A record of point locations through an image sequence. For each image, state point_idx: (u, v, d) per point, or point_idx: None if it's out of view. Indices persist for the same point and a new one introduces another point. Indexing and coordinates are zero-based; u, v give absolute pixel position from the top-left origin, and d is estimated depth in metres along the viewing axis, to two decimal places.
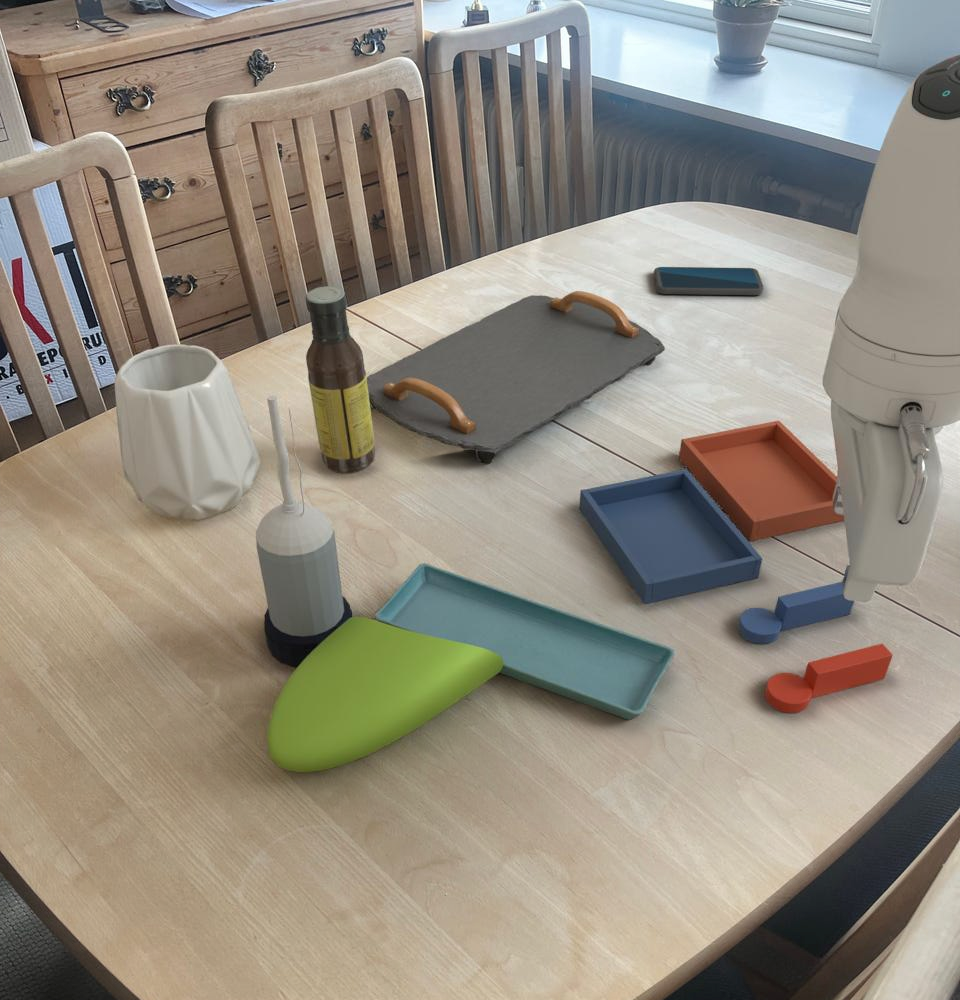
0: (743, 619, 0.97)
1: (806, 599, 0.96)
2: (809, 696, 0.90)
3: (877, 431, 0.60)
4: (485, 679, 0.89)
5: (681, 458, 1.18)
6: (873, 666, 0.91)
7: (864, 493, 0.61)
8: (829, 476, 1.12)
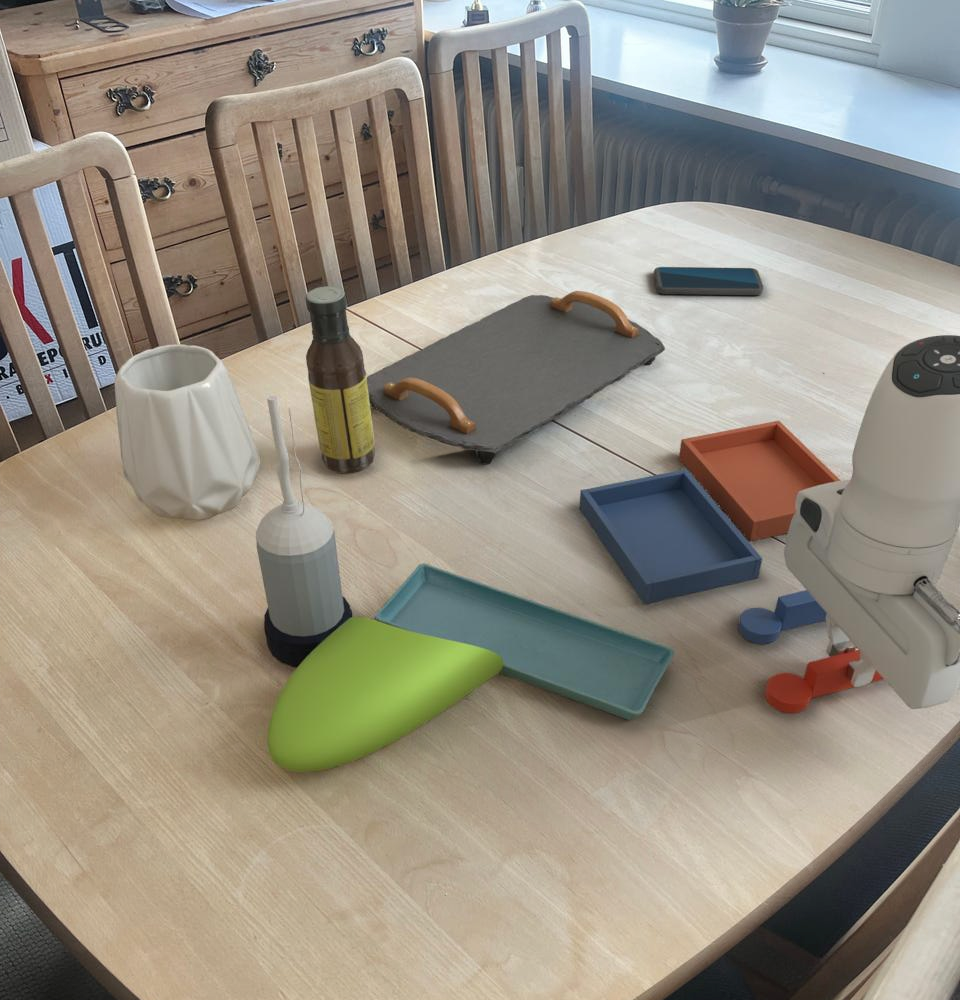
0: (743, 619, 0.97)
1: (806, 599, 0.96)
2: (809, 696, 0.90)
3: (900, 601, 0.80)
4: (485, 679, 0.89)
5: (681, 458, 1.18)
6: None
7: (898, 645, 0.81)
8: (829, 476, 1.12)
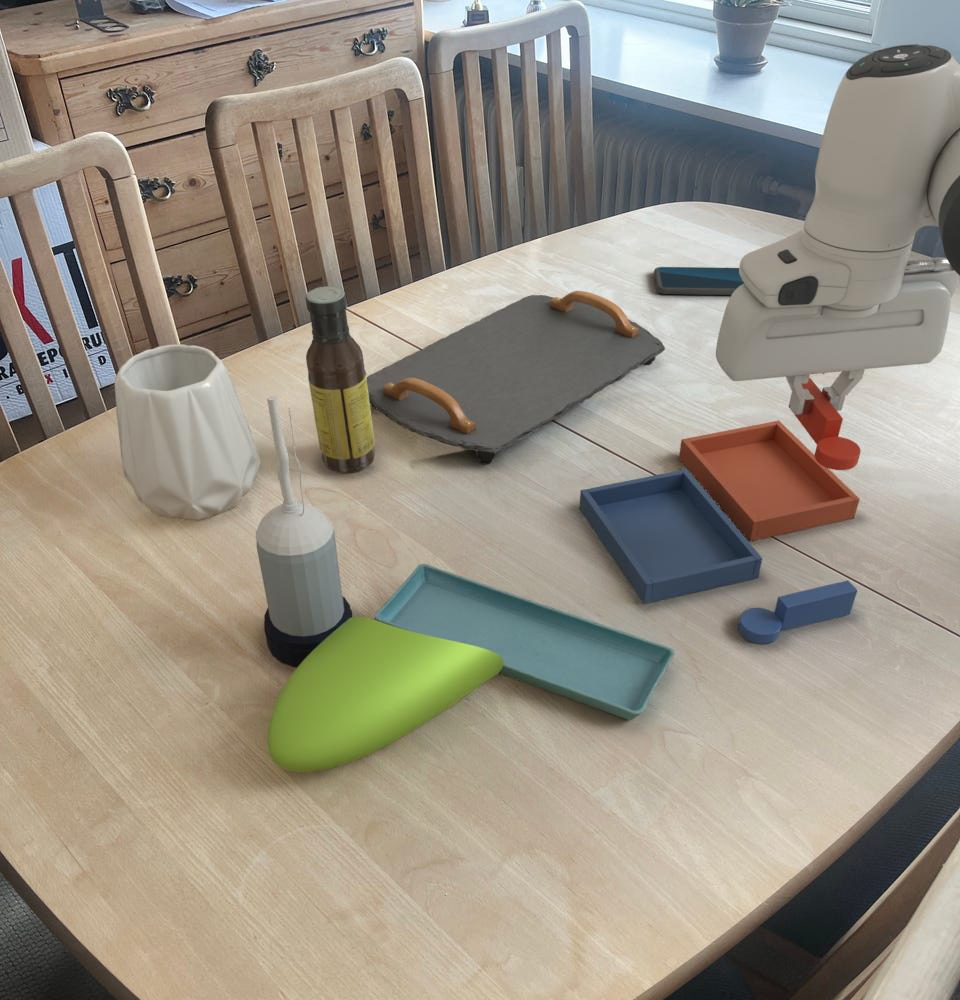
0: (743, 619, 0.97)
1: (806, 599, 0.96)
2: None
3: (903, 289, 0.89)
4: (485, 679, 0.89)
5: (681, 458, 1.18)
6: None
7: (908, 325, 0.91)
8: (829, 476, 1.12)
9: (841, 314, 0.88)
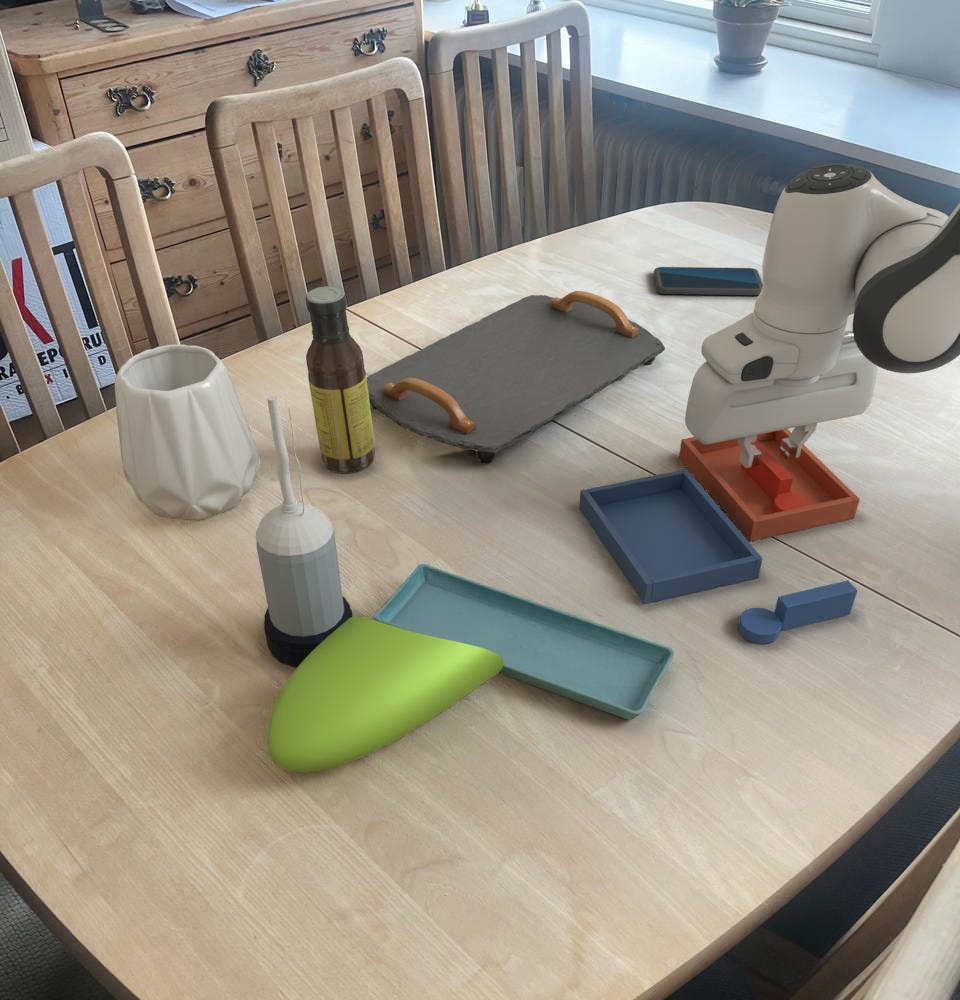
0: (743, 619, 0.97)
1: (806, 599, 0.96)
2: (799, 494, 1.11)
3: (839, 357, 1.04)
4: (485, 679, 0.89)
5: (681, 458, 1.18)
6: None
7: (844, 386, 1.07)
8: (829, 476, 1.12)
9: (791, 383, 1.03)
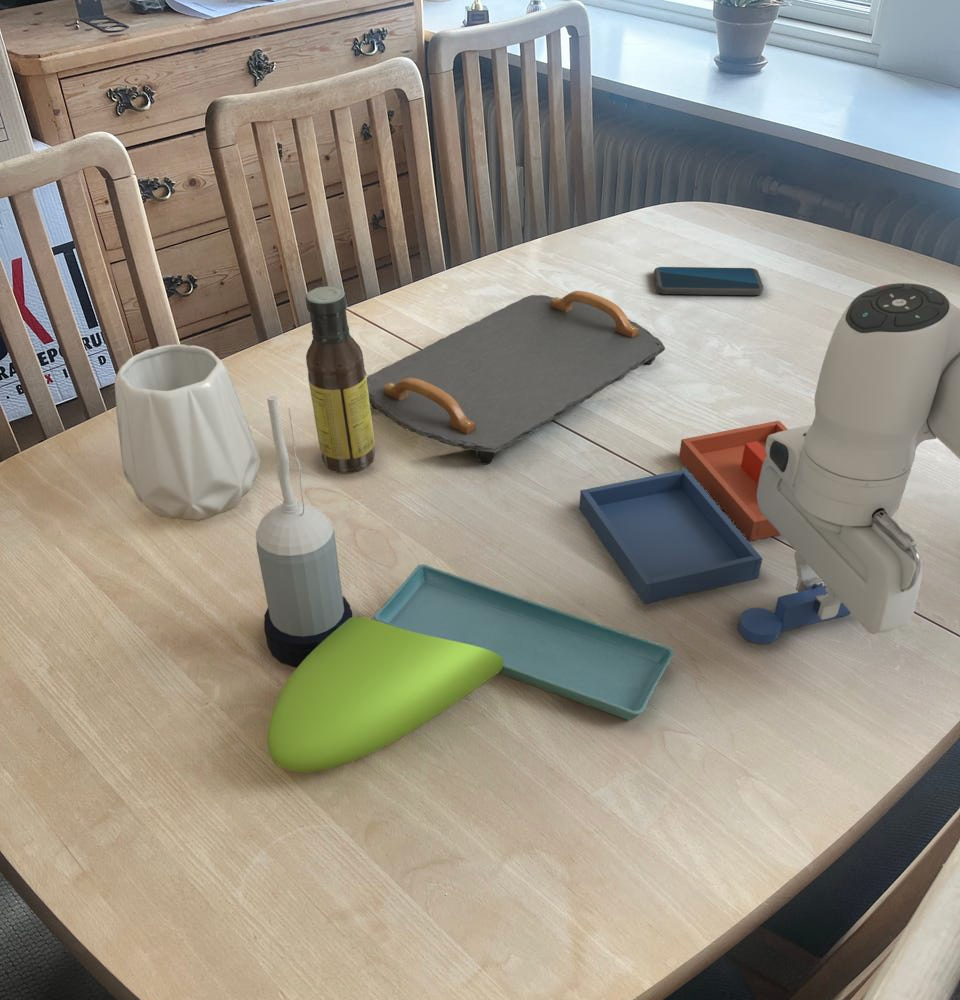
0: (743, 619, 0.97)
1: (806, 599, 0.96)
2: None
3: (859, 532, 0.86)
4: (485, 679, 0.89)
5: (681, 458, 1.18)
6: None
7: (859, 574, 0.87)
8: None
9: None
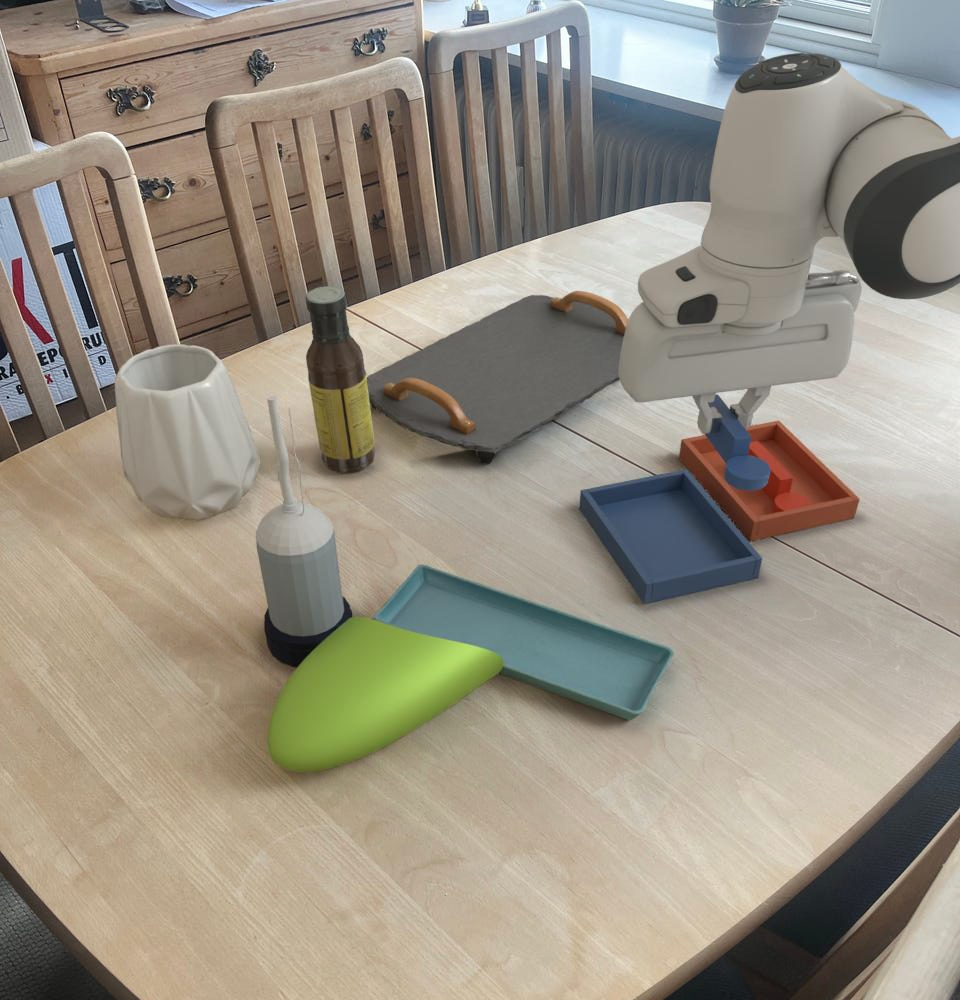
0: (747, 477, 0.90)
1: (737, 423, 0.93)
2: (799, 494, 1.11)
3: (806, 304, 0.86)
4: (485, 679, 0.89)
5: (681, 458, 1.18)
6: None
7: (812, 340, 0.89)
8: (829, 476, 1.12)
9: (743, 331, 0.85)
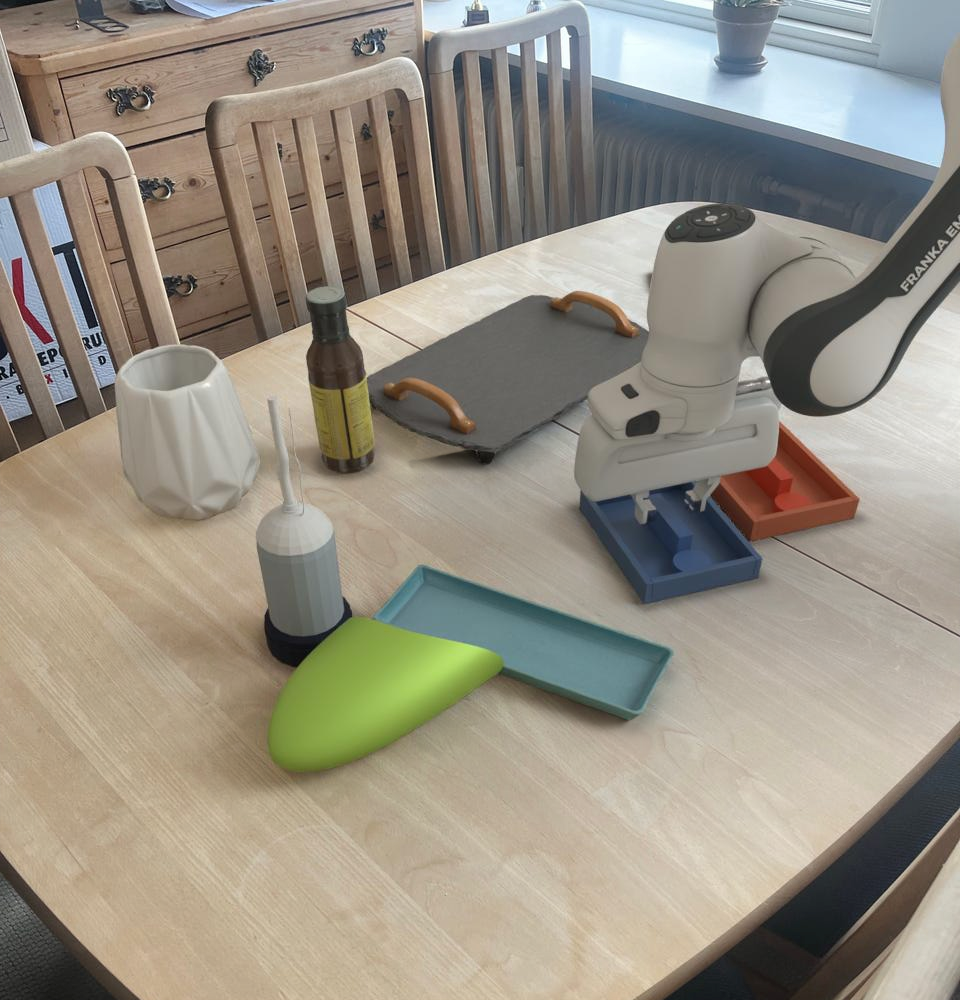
0: None
1: (679, 521, 1.04)
2: (799, 494, 1.11)
3: (736, 409, 0.97)
4: (485, 679, 0.89)
5: None
6: None
7: (743, 438, 1.00)
8: (829, 476, 1.12)
9: (683, 438, 0.96)
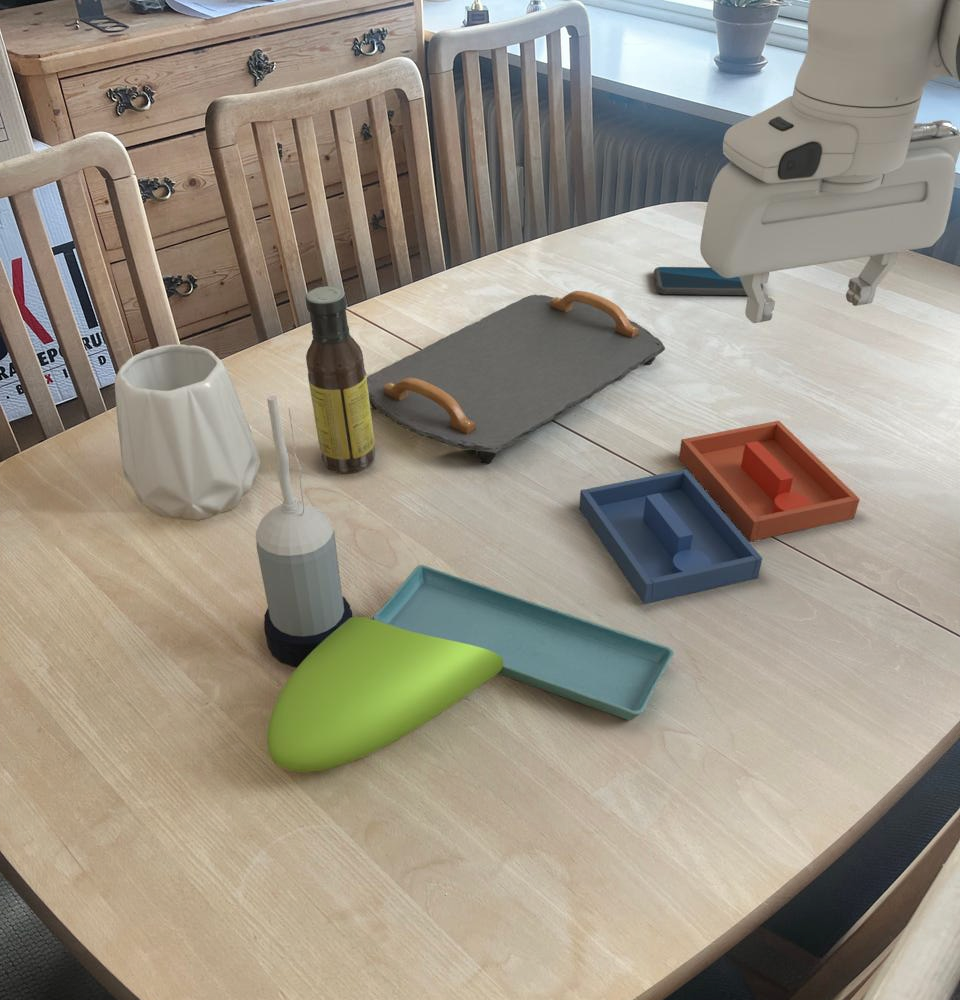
0: None
1: (679, 521, 1.04)
2: (799, 494, 1.11)
3: (907, 158, 0.78)
4: (485, 679, 0.89)
5: (681, 458, 1.18)
6: None
7: (911, 202, 0.81)
8: (829, 476, 1.12)
9: (844, 189, 0.76)
